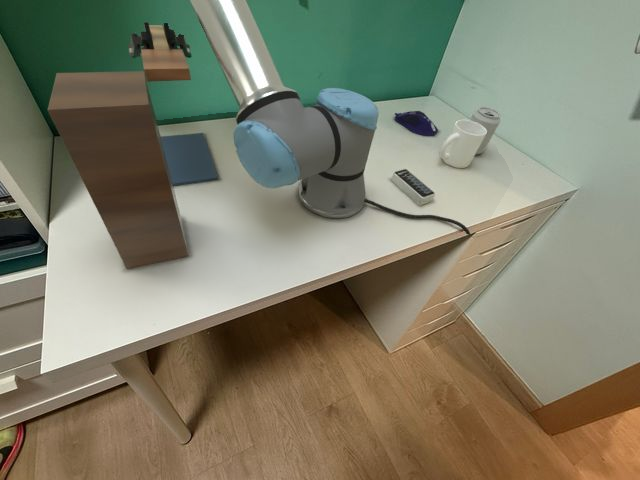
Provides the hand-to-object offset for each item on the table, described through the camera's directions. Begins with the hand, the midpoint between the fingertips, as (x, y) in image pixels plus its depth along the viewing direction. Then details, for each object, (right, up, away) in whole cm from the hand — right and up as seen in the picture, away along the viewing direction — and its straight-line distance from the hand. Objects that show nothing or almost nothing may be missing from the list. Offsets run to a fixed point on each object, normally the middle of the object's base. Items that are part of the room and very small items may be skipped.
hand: (157, 30), depth 61 cm
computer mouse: (+61, -1, +43) cm, 75 cm away
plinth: (0, -39, -1) cm, 40 cm away
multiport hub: (+53, -27, +20) cm, 63 cm away
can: (+76, -12, +38) cm, 86 cm away
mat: (-2, -19, +18) cm, 26 cm away
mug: (+67, -17, +32) cm, 76 cm away
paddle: (0, -4, +2) cm, 4 cm away
